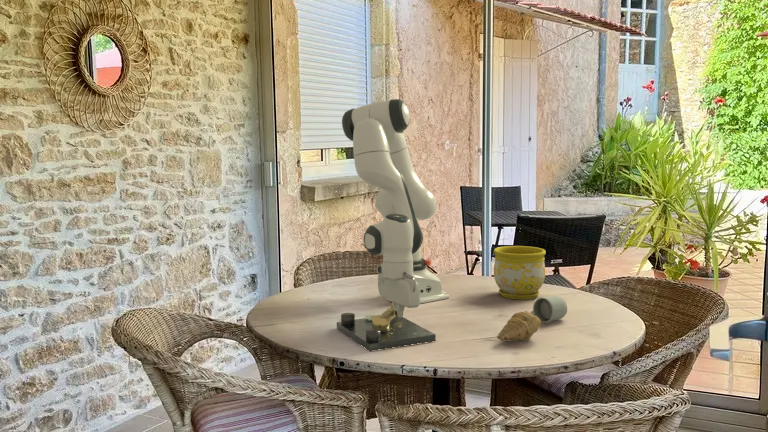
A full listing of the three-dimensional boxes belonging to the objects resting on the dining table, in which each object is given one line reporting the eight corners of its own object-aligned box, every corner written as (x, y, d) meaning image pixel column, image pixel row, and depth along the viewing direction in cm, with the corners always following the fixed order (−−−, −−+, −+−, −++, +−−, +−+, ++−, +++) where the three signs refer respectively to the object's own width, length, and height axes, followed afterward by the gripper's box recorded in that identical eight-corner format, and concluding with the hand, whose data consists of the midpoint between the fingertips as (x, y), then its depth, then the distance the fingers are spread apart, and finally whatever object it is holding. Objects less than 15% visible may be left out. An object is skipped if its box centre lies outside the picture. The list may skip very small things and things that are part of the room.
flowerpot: (555, 296, 239) (556, 250, 237) (519, 304, 229) (519, 256, 227) (518, 287, 254) (519, 244, 252) (482, 294, 243) (483, 249, 242)
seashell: (513, 350, 180) (513, 321, 179) (489, 343, 186) (489, 315, 185) (543, 339, 189) (544, 311, 188) (519, 333, 195) (520, 306, 194)
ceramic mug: (569, 320, 208) (569, 295, 208) (552, 325, 203) (552, 300, 202) (541, 314, 217) (541, 290, 216) (524, 318, 212) (524, 294, 211)
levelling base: (397, 320, 210) (397, 304, 209) (435, 341, 188) (435, 323, 188) (336, 328, 201) (336, 312, 201) (369, 351, 180) (369, 333, 179)
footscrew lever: (386, 332, 189) (386, 320, 188) (369, 331, 190) (369, 318, 190) (405, 315, 207) (405, 303, 207) (389, 314, 208) (389, 302, 208)
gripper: (424, 275, 190) (425, 323, 192) (392, 264, 209) (393, 308, 210) (404, 277, 188) (405, 326, 189) (373, 265, 206) (374, 310, 207)
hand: (398, 316), depth 200 cm, fingers closed
